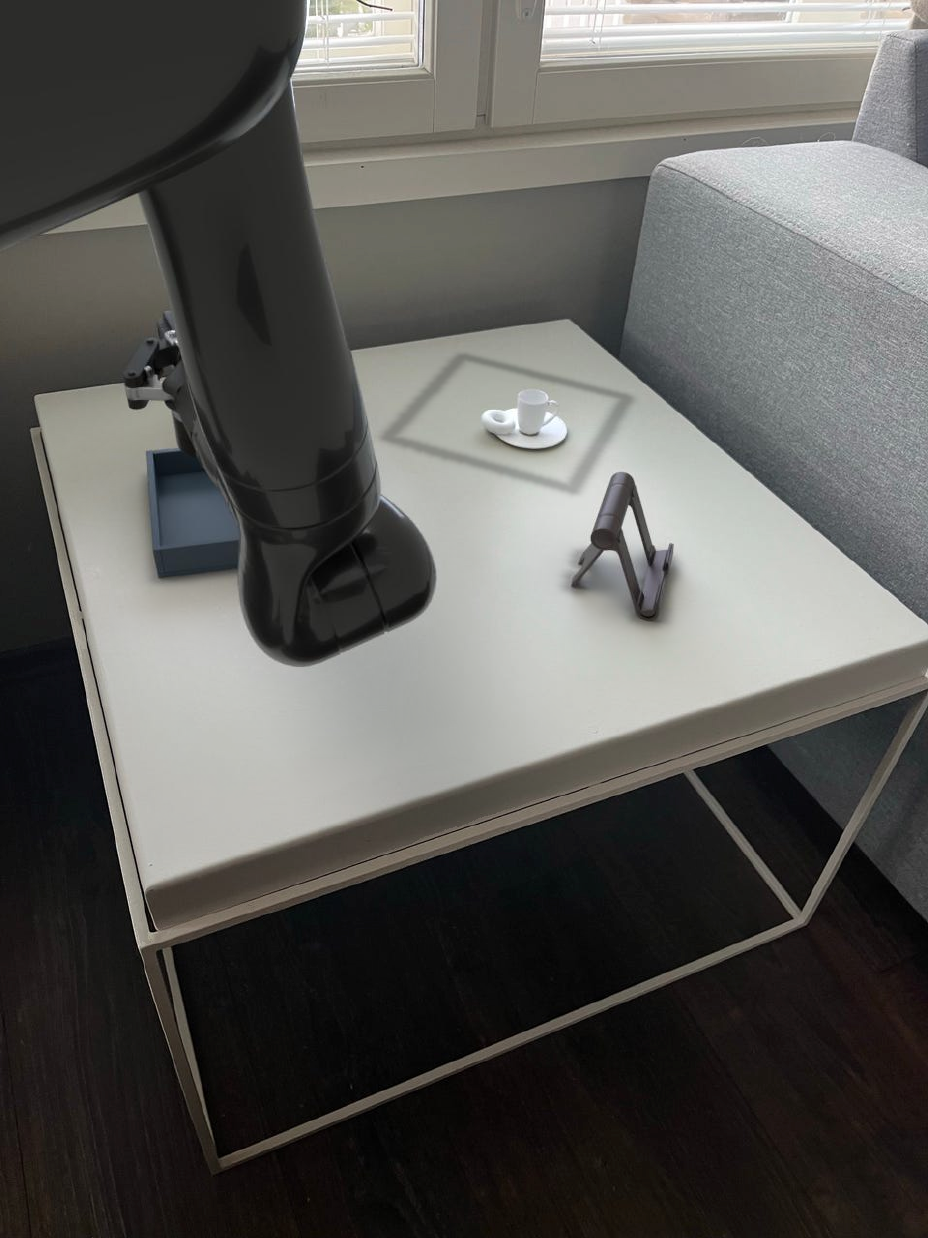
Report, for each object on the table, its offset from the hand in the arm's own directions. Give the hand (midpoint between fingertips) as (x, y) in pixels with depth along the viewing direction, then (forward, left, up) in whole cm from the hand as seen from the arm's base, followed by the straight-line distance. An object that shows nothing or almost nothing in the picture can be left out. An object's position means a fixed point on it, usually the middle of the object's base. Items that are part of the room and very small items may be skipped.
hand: (188, 320), depth 75 cm
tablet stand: (+33, -15, -20) cm, 41 cm away
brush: (+1, -3, -9) cm, 9 cm away
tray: (+4, +1, -20) cm, 20 cm away
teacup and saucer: (+32, +13, -20) cm, 40 cm away
